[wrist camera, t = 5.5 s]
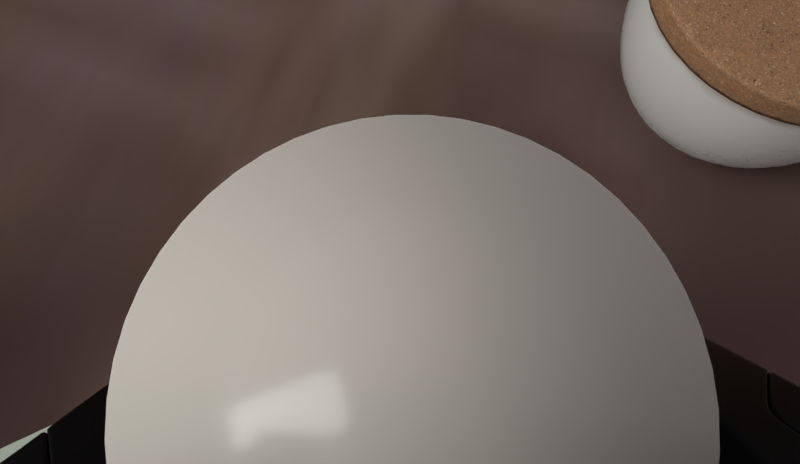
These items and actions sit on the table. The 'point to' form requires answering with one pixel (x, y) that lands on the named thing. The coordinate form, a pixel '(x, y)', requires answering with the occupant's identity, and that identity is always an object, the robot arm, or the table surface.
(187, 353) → the white rounded piece
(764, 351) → the table surface
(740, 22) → the lidded jar
